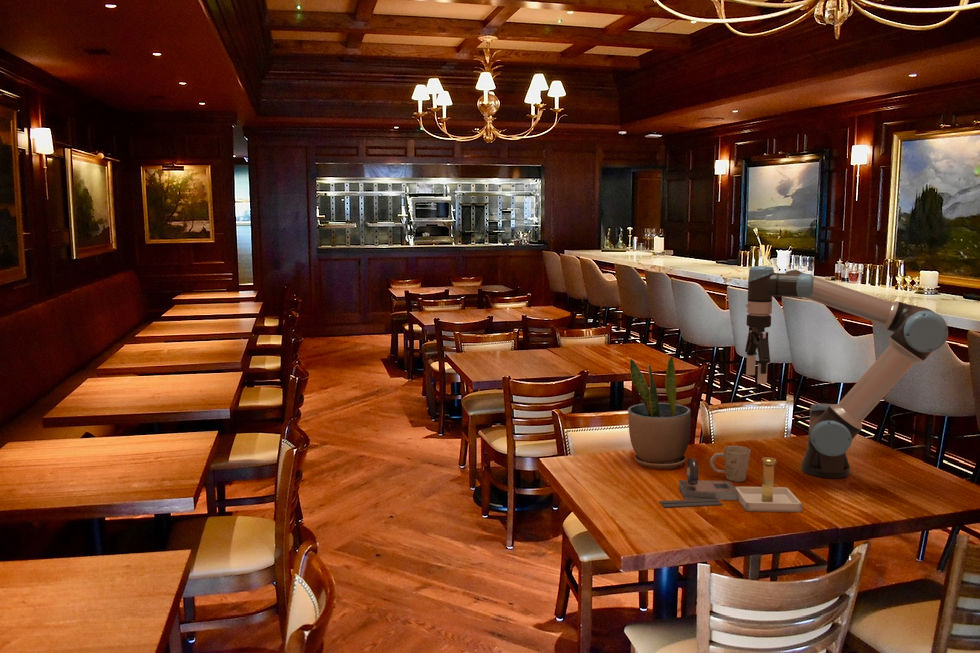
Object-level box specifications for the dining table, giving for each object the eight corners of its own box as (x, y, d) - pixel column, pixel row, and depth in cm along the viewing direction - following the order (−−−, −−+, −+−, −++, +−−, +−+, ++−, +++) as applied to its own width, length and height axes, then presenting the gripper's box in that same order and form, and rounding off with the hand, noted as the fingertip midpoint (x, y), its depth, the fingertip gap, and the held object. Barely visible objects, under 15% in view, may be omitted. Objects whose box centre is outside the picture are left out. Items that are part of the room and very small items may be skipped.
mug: (750, 483, 255) (752, 453, 254) (710, 481, 258) (711, 451, 256) (747, 475, 263) (749, 446, 262) (708, 473, 266) (709, 444, 264)
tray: (786, 495, 245) (787, 487, 245) (801, 512, 231) (802, 503, 231) (734, 494, 246) (734, 486, 245) (745, 511, 232) (746, 502, 232)
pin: (772, 498, 240) (774, 457, 238) (776, 503, 236) (778, 461, 234) (757, 498, 241) (760, 456, 239) (761, 503, 236) (764, 461, 235)
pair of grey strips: (716, 499, 241) (716, 498, 241) (722, 505, 237) (722, 504, 237) (659, 502, 239) (659, 501, 239) (664, 507, 235) (664, 506, 234)
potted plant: (614, 462, 278) (616, 349, 272) (652, 450, 291) (655, 342, 286) (663, 477, 262) (666, 357, 256) (701, 463, 276) (705, 350, 270)
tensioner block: (730, 488, 251) (731, 455, 249) (738, 500, 241) (739, 465, 239) (679, 487, 252) (680, 454, 250) (684, 499, 242) (686, 464, 240)
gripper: (737, 309, 268) (734, 371, 271) (757, 319, 243) (754, 387, 246) (760, 309, 267) (757, 371, 270) (782, 319, 243) (779, 387, 246)
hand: (756, 379), depth 258 cm, fingers open, 13 cm apart
